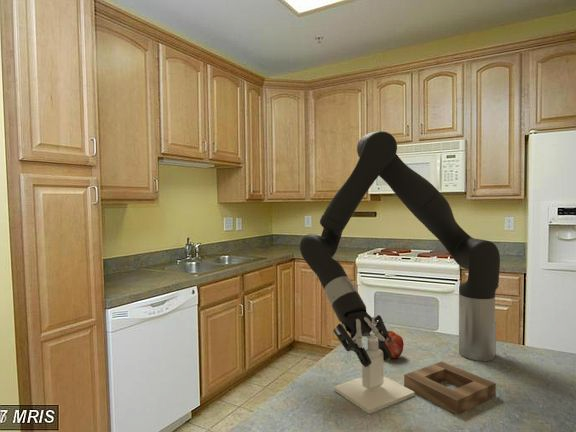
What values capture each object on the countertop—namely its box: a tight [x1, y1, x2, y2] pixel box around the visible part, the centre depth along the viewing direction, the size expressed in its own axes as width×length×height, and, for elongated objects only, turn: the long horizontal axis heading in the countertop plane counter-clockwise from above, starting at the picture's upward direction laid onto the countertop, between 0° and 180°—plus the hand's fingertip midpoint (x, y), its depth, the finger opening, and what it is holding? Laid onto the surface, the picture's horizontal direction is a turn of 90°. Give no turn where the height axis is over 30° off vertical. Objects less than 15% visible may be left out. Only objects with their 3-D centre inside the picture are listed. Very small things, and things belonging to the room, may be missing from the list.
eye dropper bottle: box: [361, 332, 385, 389], centre depth 88 cm, size 4×6×12 cm
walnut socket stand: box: [403, 361, 497, 416], centre depth 88 cm, size 14×14×3 cm
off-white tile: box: [332, 375, 416, 415], centre depth 88 cm, size 14×12×1 cm
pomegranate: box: [382, 330, 405, 359], centre depth 109 cm, size 7×7×10 cm
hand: (378, 361), depth 86 cm, fingers closed on eye dropper bottle, 5 cm apart
